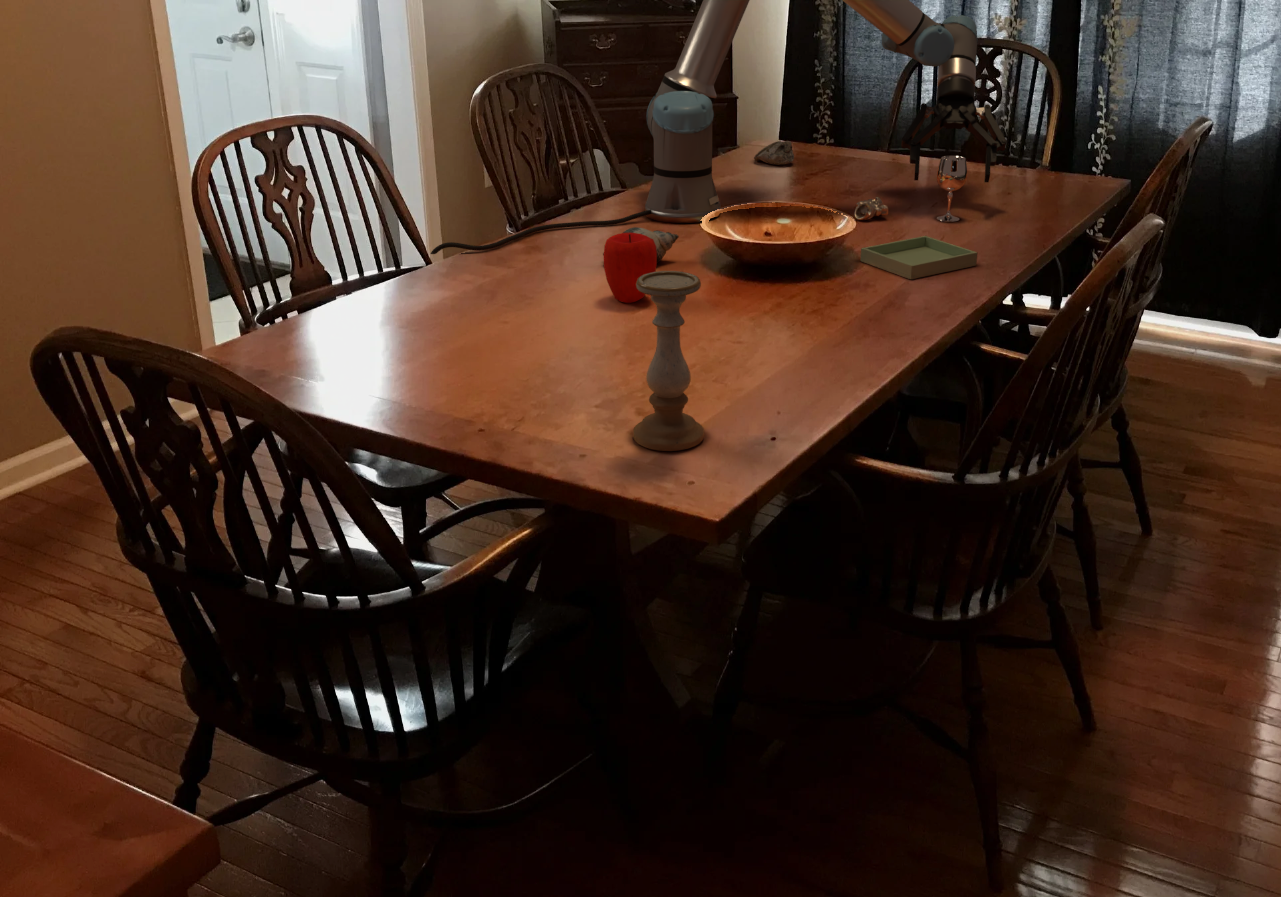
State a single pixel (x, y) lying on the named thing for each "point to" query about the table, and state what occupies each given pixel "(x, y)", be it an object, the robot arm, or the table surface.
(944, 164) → the wineglass
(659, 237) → the seashell
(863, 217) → the ornament
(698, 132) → the robot arm
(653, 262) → the apple
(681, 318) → the candle holder
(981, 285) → the table surface
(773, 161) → the grey rock
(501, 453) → the table surface
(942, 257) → the tray
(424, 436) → the table surface
